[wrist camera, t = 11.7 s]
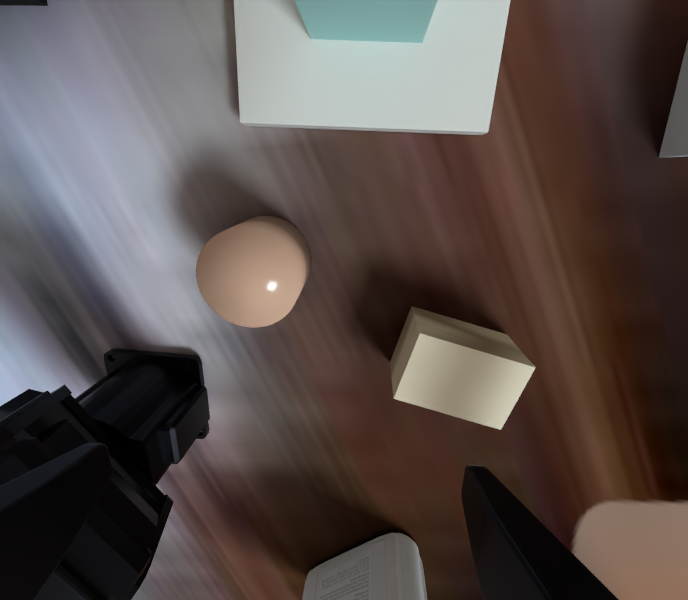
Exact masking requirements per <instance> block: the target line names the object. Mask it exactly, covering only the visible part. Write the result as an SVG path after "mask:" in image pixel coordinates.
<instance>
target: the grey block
mask: <svg viewBox="0 0 688 600" xmlns="http://www.w3.org/2000/svg"><path fill="white" fill-rule="evenodd" d="M684 156H688V42H687V46H686V50H685V54H684V58H683V62H682V66H681V70H680V74H679V78H678V82H677V86H676V90H675V94H674V98H673V102H672V106H671V110H670V114H669V118H668V122H667V126H666V130H665V134H664V138H663V142H662V146H661V150H660V154H659V158H660V157H684Z"/></svg>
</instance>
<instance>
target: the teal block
mask: <svg viewBox="0 0 688 600" xmlns="http://www.w3.org/2000/svg"><path fill="white" fill-rule="evenodd" d="M294 1H295V3H296V5H297V8H298V10H299V12H300V15H301V17H302V19H303V22H304V24H305V26H306V29H307V31H308V33H309V36H310V38H311V39H320V40H348V41H377V42H406V43H422V42H423V39H424V37H425V34H426V31H427V28H428V26H429V23H430V20H431V17H432V14H433V12H434V9H435V6H436V3H437V1H438V0H294Z"/></svg>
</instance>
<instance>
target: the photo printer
mask: <svg viewBox="0 0 688 600" xmlns="http://www.w3.org/2000/svg"><path fill="white" fill-rule="evenodd" d="M302 600H427V595H426V587H425V579H424V571H423V565H422V561H421V558H420V557H419V550H418V547H417V545H416V543H415V542H414V541H413V540H412V539H411V538H410V537H408V536H406V535H404V534H402V533H389V534H386V535H382V536H380V537H377V538H375V539H373V540H371V541H369V542H366V543H364V544H362V545H360V546H358V547H356V548H353V549H351V550H349V551H347V552H345V553H343V554H341V555H339V556H337V557H335V558H333V559H330V560H328V561H326V562H324V563H322V564H320V565H318V566H317V567H315V568H314V569H312V570H311V571H310V572H309V573H308V575H307V578H306V582H305V587H304V593H303V599H302Z"/></svg>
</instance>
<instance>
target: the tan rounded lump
mask: <svg viewBox="0 0 688 600" xmlns="http://www.w3.org/2000/svg"><path fill="white" fill-rule="evenodd" d="M311 265H312V257H311V251H310V248H309V245H308V243H307V241H306V239H305V237H304V236H303V235H302V233H301V232H300V231H299V230H298V229H297V228H296V227H295V226H294V225H292V224H291V223H289V222H288V221H286V220H283V219H281V218H278V217H274V216H257V217H253V218H251V219H248V220H246V221H244V222H242V223H240V224H238V225H235V226H233V227H231V228H229V229H227V230H225V231H222V232H220V233H218V234H217V235H215V236H213V237H212V238H211V239H210V240H209V241H208V242H207V243H206V244H205V245H204V247H203V248H202V250H201V252H200V254H199V257H198V260H197V265H196V278H197V283H198V287H199V289H200V292H201V294H202V296H203V298H204V299H205V301H206V302H207V304H208V305H209V306H210V307H211V308H212V309H213V311H215V312H216V313H217V314H218V315H219V316H221V317H222V318H224V319H226V320H227V321H229V322H231V323H234V324H236V325H240V326H245V327H264V326H268V325H271V324H274V323H276V322H278V321H279V320H281V319H282V318H284V317H285V316H286V315H287V314H288V313H289V312H290V310H291V309H292V308H293V306H294V304H295V302H296V300H297V298H298V297H299V295H300V293H301V291H302V289H303V287H304V285H305V283H306V281H307V279H308V277H309V274H310V271H311Z"/></svg>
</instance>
